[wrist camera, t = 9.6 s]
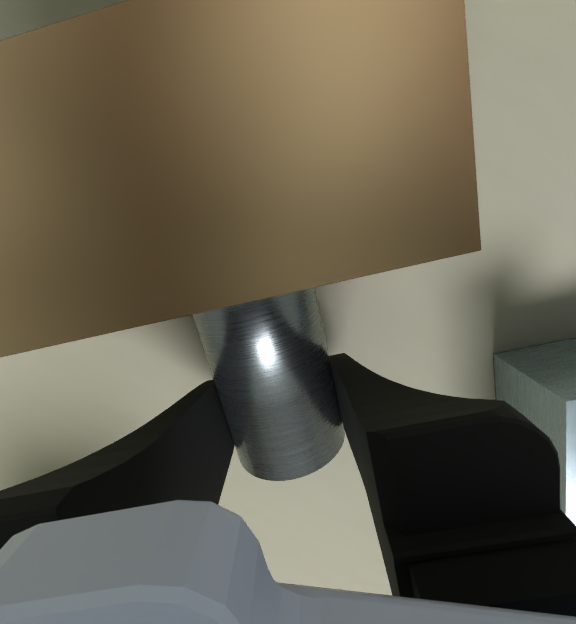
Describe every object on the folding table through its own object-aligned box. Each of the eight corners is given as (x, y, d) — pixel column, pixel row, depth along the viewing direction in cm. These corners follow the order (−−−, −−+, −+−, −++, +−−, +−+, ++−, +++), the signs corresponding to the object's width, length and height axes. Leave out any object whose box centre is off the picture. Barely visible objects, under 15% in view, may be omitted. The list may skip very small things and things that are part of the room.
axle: (268, 84, 10) (257, -1, 6) (336, 398, 13) (355, 467, 10) (154, 115, 11) (77, 50, 7) (246, 416, 14) (229, 491, 10)
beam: (364, 84, 10) (457, -105, 4) (387, 237, 11) (481, 250, 6) (83, 161, 11) (-156, 89, 5) (133, 296, 12) (-13, 360, 6)
